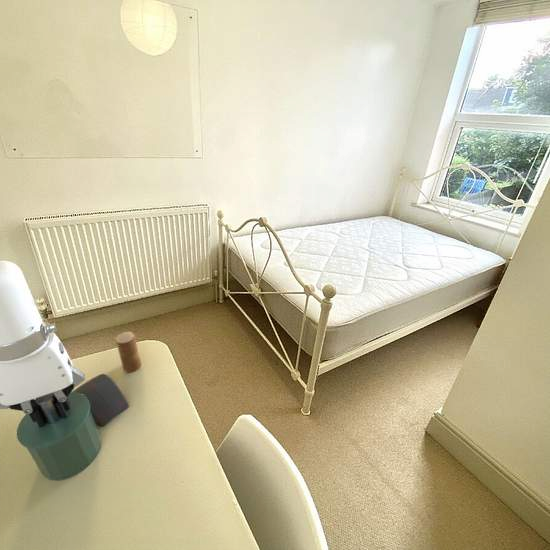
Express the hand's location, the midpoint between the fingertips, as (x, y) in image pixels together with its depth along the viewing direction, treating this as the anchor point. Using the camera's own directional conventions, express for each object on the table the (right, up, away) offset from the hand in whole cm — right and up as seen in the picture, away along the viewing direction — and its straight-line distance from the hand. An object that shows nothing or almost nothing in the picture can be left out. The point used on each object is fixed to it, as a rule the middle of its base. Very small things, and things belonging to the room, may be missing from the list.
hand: (54, 415), depth 56 cm
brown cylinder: (+2, +1, +26) cm, 26 cm away
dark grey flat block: (-1, -4, +16) cm, 17 cm away
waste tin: (0, -10, +6) cm, 11 cm away
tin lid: (0, -1, +1) cm, 1 cm away
